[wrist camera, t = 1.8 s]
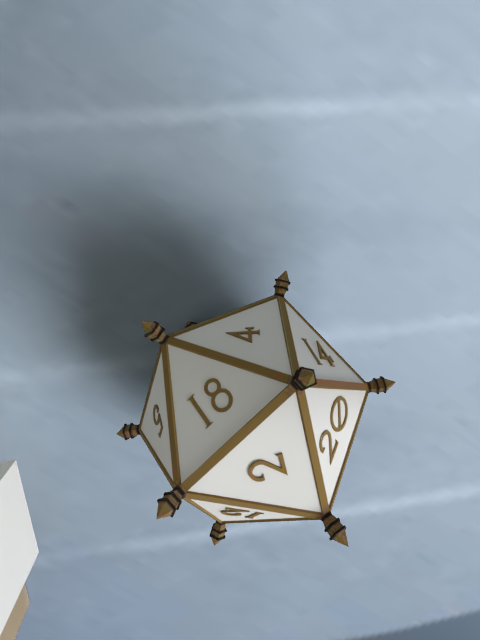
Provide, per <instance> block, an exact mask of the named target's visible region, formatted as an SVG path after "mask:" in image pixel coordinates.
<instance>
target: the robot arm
mask: <svg viewBox="0 0 480 640" xmlns="http://www.w3.org/2000/svg"><path fill="white" fill-rule="evenodd" d="M38 553H39V551H38V547H37V543H36V539H35V535H34V531H33V527H32V523H31V519H30V515H29V511H28V507H27V503H26V499H25V495H24V491H23V487H22V483H21V479H20V475H19V471H18V467H17V463H16V460H12V461H4V462H0V635H1V633H2V631H3V629H4V626H5V624H6V622H7V620H8V618H9V616H10V613H11V611H12V609H13V607H14V605H15V603H16V600H17V598H18V596H19V594H20V592H21V590H22V588H23V585H24V583H25V581H26V579H27V577H28V575H29V572H30V570H31V568H32V566H33V564H34V562H35V559H36V557H37V555H38Z"/></svg>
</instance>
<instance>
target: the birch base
mask: <svg viewBox="0 0 480 640" xmlns="http://www.w3.org/2000/svg"><path fill="white" fill-rule="evenodd" d="M29 603H30V601H29V597H28V594H27V590H26V586H25V583H24V585H23V588H22V590H21V592H20V594H19V596H18V598H17V600H16V603H15V605H14V607H13V609H12V611H11V613H10V616H9V618H8V620H7V622H6V624H5V626H4V629H3V631H2V633H1V635H0V640H15V638H16V635H17V633H18V630H19V628H20V625H21V623H22V620H23V618H24V616H25V613H26V611H27V608H28V606H29Z"/></svg>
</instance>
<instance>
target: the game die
mask: <svg viewBox="0 0 480 640" xmlns="http://www.w3.org/2000/svg"><path fill="white" fill-rule="evenodd" d="M275 281H276V284H275V286H274V287H275V294H274V295H273V296H270V297H268V298H265V299H262V300H260V301H257V302H254V303H252V304H249V305H246V306H243V307H241V308H238V309H235V310H233V311H230V312H227V313H225V314H222V315H219V316H217V317H214V318H211V319H209V320H206V321H203V322H201V323H194V322H187V326H186V327H185V329H182V330H179V331H177V332H174V333H171V334H168V335H166V333H165V332H164V330H165V329H164V328H162V327H161V326H159V323H157V322H155V321H154V322H148V321H142V325H143V328H144V331H145V337H147V336H148V337H149V338H150V339H151V341H152V342H153V341H156V342H159V343H160V344H161V345H160V348H159V352H158V356H157V360H156V364H155V367H154V371H153V375H152V379H151V383H150V386H149V390H148V394H147V398H146V402H145V405H144V409H143V413H142V417H141V421H140V424H139V425H134V424H133V423H131V424H130V425H127V424H124V427H123V428H122V429H121V430H120V431H119V432H118V433H117V435H119V436H121V437H123V438H125V440H127V439H129V438H134V437H136V436H137V435H141V437H142V438H143V440H144V442H145V443H146V445H147V447H148V448H149V450H150V452H151V453H152V455H153V457H154V458H155V460H156V461H157V463H158V465H159V466H160V468H161V470H162V471H163V473H164V475H165V476H166V478H167V480H168V481H169V483H170V485H171V486H172V488H173V490H172V491H170V492H165V493H164V497H163V498H161V499H158V500H157V501H158V512H157V519H160V518H164V517H168V516H171V517H173V516H174V513H175V511H176V510H178V509H179V507H180V504H181V502H182V501H181V499H184V500H186V501H187V502H189V503H190V504H192V505H193V506H195V507H196V508H198V509H199V510H201V511H202V512H204V513H206V514H207V515H209V516H210V517H212V518H213V519H215V520H216V523H214V524H213V527H212V530H211V533H210V537H211V538H212V541H213V543H214V546H215V545H216V544H217V543H218V542H219V541H220V540H222V539H224V538H225V535H224V534H225V532H227V530H226V528H225V524H226V523H246V522H271V521H296V520H322V521H323V523H324V526H325V530H324V531H325V532H328V534H329V535H330V538H329V539H330V540H332V539H333V540H335V541H337V542H339V543H341V544H344V545H346V546H348V542H347V537H346V532H345V529H346V527H345V525H344V526H343V525H342V524H341V523H340V519H339V518H336V517H334V516H333V515H332V514H331V509H332V506H333V503H334V500H335V497H336V494H337V491H338V487H339V484H340V481H341V478H342V475H343V472H344V468H345V465H346V462H347V459H348V456H349V453H350V450H351V446H352V443H353V440H354V437H355V434H356V431H357V428H358V424H359V421H360V418H361V415H362V412H363V409H364V405H365V402H366V399H367V396H368V393H370V392H376V393H377V394H379V392H384V393H386V391H387V390H388V389H389V388H390V387H391V386H392V385H393V384H394V383H395V382H394V381H391V380H387V379H384V378H383V377H382V376H381V377H380V378H378V379H375V378H373V380H372V381H370V382H365V381H364V380H363V379H362V378H361V377H360V376H359V375H358V374H357V373H356V371H355V370H354V369H353V368H352V367H351V366H350V365H349V364H348V363H347V362H346V361H345V360H344V359H343V358H342V357H341V356H340V355H339V354H338V353H337V352H336V351H335V350H334V349H333V348H332V347H331V346H330V345H329V344H328V342H327V341H326V340H325V339H324V338H323V337H322V336H321V335H320V334H319V333H318V332H317V331H316V330H315V329H314V328H313V327H312V326H311V325H310V324H309V323H308V322H307V321H306V320H305V319H304V318H303V317H302V316H301V315H300V313H299V312H298V311H297V310H296V309H295V308H294V307H293V306H292V305H291V304H290V303H289V302H288V301H287V300H286V299H285V298H284V294H285V293H286V291H288V285H290V282H289V279H288V275H287V271H285V272H284V273H283V274H282V275H281V276H280V277H278V278H277V279H275Z"/></svg>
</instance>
